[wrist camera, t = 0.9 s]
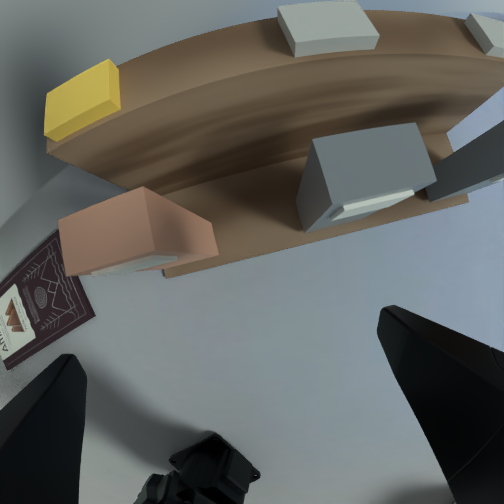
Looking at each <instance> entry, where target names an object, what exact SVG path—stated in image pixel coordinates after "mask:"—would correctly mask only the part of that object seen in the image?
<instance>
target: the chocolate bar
mask: <svg viewBox="0 0 504 504" xmlns="http://www.w3.org/2000/svg"><path fill="white" fill-rule="evenodd" d="M95 316H96V315H95V313H94V311H93V309H92V307H91V305H90V302H89V300H88V298H87V296H86V293H85V291H84V289H83V287H82V284H81V282H80V279H79V277H78V276H66V272H65V267H64V261H63V255H62V248H61V241H60V234H59V230H57V231H56V232H55V233H54V234H53V235H51V236H50V237H49V238H48V239H47V240H46V241H45V242H43V243H42V244H41V245H40V246H39V247H38V248H37V249H36V250H35V251H34V252H32V253H31V254H30V255H29V256H28V257H27V258H26V259H25V260H24V261H23V262H22V263H21V264H20V265H19V266H18V267H17V268H16V269H15V270H14V271H13V272H12V273H11V274H10V275H9V276H8V277H7V278H6V279H5V280H4V281H3V282H2V283H1V284H0V355H1V357H2V360H3V362H4V364H5V366H6V369H7V370H10V369H12V368H13V367H15V366H16V365H18V364H19V363H21V362H22V361H24V360H26V359H27V358H29V357H30V356H32V355H33V354H35V353H37V352H38V351H40V350H41V349H43V348H45V347H46V346H48V345H49V344H51V343H53V342H54V341H56V340H57V339H59V338H61V337H62V336H64V335H65V334H67V333H69V332H70V331H72V330H73V329H75V328H77V327H78V326H80V325H82V324H83V323H85V322H87V321H88V320H90V319H91V318H93V317H95Z"/></svg>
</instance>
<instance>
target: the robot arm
mask: <svg viewBox="0 0 504 504" xmlns="http://www.w3.org/2000/svg"><path fill="white" fill-rule="evenodd" d="M377 335H378V338H379V340H380V343H381V345H382V347H383V350H384V352H385V354H386V357H387V359H388V362H389V364H390V367H391V369H392V371H393V374H394V376H395V378H396V380H397V382H398V384H399V386H400V387H401V389H402V391H403V393H404V395H405V397H406V399H407V401H408V402H409V404H410V406H411V408H412V410H413V412H414V414H415V416H416V418H417V420H418V422H419V424H420V426H421V428H422V430H423V432H424V434H425V436H426V438H427V440H428V442H429V444H430V446H431V448H432V450H433V452H434V454H435V456H436V459H437V461H438V463H439V465H440V467H441V469H442V472H443V474H444V476H445V478H446V480H447V482H448V485H449V488H450V490H451V492H452V494H453V497H454V499H455V502H456V504H504V352H502V351H500V350H497V349H495V348H493V347H491V348H490V346H488V345H486V344H484V343H481V342H479V341H477V340H474V339H472V338H470V337H468V336H465V335H463V334H461V333H458V332H456V331H454V330H452V329H449V328H447V327H445V326H442V325H440V324H438V323H435V322H433V321H431V320H428V319H426V318H424V317H422V316H419V315H417V314H415V313H412V312H410V311H408V310H405V309H403V308H401V307H398V306H396V305H391V306H387V307H383V308H382V309H381V311H380V316H379V321H378V327H377ZM86 389H87V376H86V373H85V371H84V369H83V368H82V366H81V364H80V363H79V361H78V359H77V357H76V356H75V355H74V354H62V355H60V356H59V357H58V358H57V359H56V360H55V361H53V362H52V363H51V364H50V365H49V366H48V367H47V368H46V369H44V370H43V371H42V372H41V373H40V374H39V375H38V376H37V377H36V378H35V379H33V380H32V381H31V382H30V383H29V384H28V385H27V386H26V387H25V388H24V389H23V390H21V391H20V392H19V393H18V394H17V395H16V396H15V397H14V398H13V399H12V400H11V401H10V402H9V403H8V404H7V405H6V406H4V407H3V408H2V409H1V410H0V504H78V503H79V479H80V464H81V453H82V443H83V435H84V426H85V408H86ZM214 439H218V440H214ZM174 460H175V461H174ZM169 462H170V463H171V464H172V465H173V466H174V467H175V468H176V469H177V470H178V471H179V472H176V471H175V470H173V471H171V472H170V473H169V474H167V475H165V476H164V475H159V474H152V475H151V476H149V478H148V479H147V481H146V483H145V484H144V486H143V488H142V491H141V492H140V493H139V494H138V498H137V500H136V501H135V502H134V503H133V504H243V503H244V498H245V494H246V493H248V489H249V483H251V482H254V481H256V480H258V479H259V478H260V476H261V474H260V472H259V471H258V470H257V469H255V468H254V467H253V466H252V464H251V463H250V462H249V461H248V460H247V459H246V458H245V457H244V456H243V455H241V454H240V453H239V452H238V451H237V450H236V449H234V448H232V447H231V446H230V445H229V444H228V443H227V442H226V441H225V440H224V439H223V438H222V437H221V436H220V435H218V434H213V435H211V436H210V437H208V438H206V439H204V440H202V441H200V442H198V443H196V444H195V445H193V446H191V447H189V448H187V449H185V450H183V451H181V452H179V453H177V454H175V455H173V456H171V457H170V459H169ZM254 475H257V476H254Z"/></svg>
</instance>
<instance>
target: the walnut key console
mask: <svg viewBox="0 0 504 504" xmlns="http://www.w3.org/2000/svg"><path fill="white" fill-rule="evenodd" d="M277 11H278V17H276V18H270V19H263V20H258V21H254V22H248V23H244V24H239V25H235V26H230V27H226V28H222V29H219V30H215V31H211V32H208V33H204V34H201V35H197V36H194V37H191V38H188V39H185V40H182V41H179V42H176V43H173V44H170V45H167V46H165V47H162V48H159V49H157V50H154V51H151V52H149V53H146V54H144V55H141V56H139V57H136V58H134V59H132V60H130V61H127V62H125V63H123V64H121V65H118V66H115V65H114V64H113V63H112V62H111V60H110V59H107V60H105V61H103V62H101V63H99V64H98V65H96V66H94V67H92V68H90V69H88V70H86V71H84V72H83V73H81V74H79V75H78V76H76V77H74V78H72V79H70V80H69V81H67V82H65V83H64V84H62V85H60V86H59V87H57V88H56V89H54V90H52V91H51V92H49V93H48V94H47V98H46V109H45V123H44V135H45V136H47V154H49V155H52V156H54V157H56V158H58V159H60V160H63V161H65V162H67V163H69V164H71V165H74V166H76V167H78V168H80V169H83V170H85V171H87V172H89V173H91V174H94V175H96V176H98V177H100V178H102V179H105V180H107V181H109V182H111V183H113V184H116V185H118V186H120V187H122V188H124V189H127V190H129V191H131V190H134V189H137V188H140V187H142V186H143V187H145V188H147V189H149V190H151V191H153V192H155V193H157V194H158V195H160V196H162V197H164V198H166V199H168V200H170V201H172V202H173V203H175V204H177V205H179V206H181V207H183V208H185V209H186V210H188V211H190V212H192V213H194V214H196V215H198V216H200V217H201V218H203V219H205V220H207V221H209V222H211V223H212V228H213V232H214V236H215V241H216V245H217V249H218V253H219V255H217V256H213V257H209V258H206V259H202V260H198V261H194V262H190V263H186V264H182V265H178V266H174V267H170V268H166V269H164V273H165V277H166V279H167V278H171V277H175V276H179V275H183V274H187V273H191V272H196V271H200V270H204V269H208V268H212V267H216V266H220V265H224V264H228V263H232V262H236V261H240V260H244V259H248V258H252V257H256V256H260V255H264V254H268V253H272V252H276V251H280V250H284V249H288V248H292V247H296V246H300V245H304V244H308V243H312V242H315V241H319V240H323V239H327V238H331V237H335V236H339V235H343V234H347V233H351V232H355V231H359V230H363V229H367V228H371V227H374V226H378V225H382V224H386V223H390V222H394V221H398V220H402V219H406V218H409V217H413V216H417V215H421V214H425V213H429V212H433V211H437V210H440V209H444V208H448V207H452V206H456V205H460V204H463V203H467V202H469V200H468V196H467V194H463V195H459V196H454V197H450V198H446V199H442V200H438V201H434V202H429V199H428V195H427V192H426V189H425V187H424V188H422V189H420V190H418V191H416V192H414V195H412V196H410V197H408V198H406V199H404V200H402V201H400V202H398V203H396V204H394V205H392V206H390V207H387V208H383V209H381V210H379V211H377V212H375V213H373V214H371V215H369V216H367V217H365V218H363V219H361V220H357V221H353V222H349V223H345V224H340V225H336V226H332V227H328V228H324V229H320V230H316V231H312V232H308V233H304V232H303V228H302V224H301V220H300V216H299V213H298V209H297V205H296V202H295V201H296V197H297V193H298V190H299V186H300V183H301V179H302V175H303V172H304V168H305V164H306V161H307V157H308V153H309V149H310V146H311V142H312V139H315V138H320V137H325V136H330V135H336V134H341V133H347V132H353V131H358V130H365V129H371V128H377V127H384V126H392V125H399V124H407V123H416V124H417V127H418V129H419V132H420V134H421V137H422V139H423V142H424V144H425V147H426V150H427V153H428V155H429V158H430V161H431V164H432V166H433V165H435V164H437V163H438V162H440V161H441V160H443V159H444V158H446V157H448V156H449V155H451V154H452V153H454V152H453V150H452V147H451V144H450V142H449V139H448V137H447V134H446V133H447V132H448V131H449V130H450V129H452V128H453V127H454V126H455V125H457V124H458V123H459V122H460V121H462V120H463V119H464V118H465V117H467V116H468V115H469V114H470V113H472V112H473V111H474V110H475V109H477V108H478V107H479V106H480V105H482V104H483V103H484V102H485V101H487V100H488V99H489V98H490V97H491V96H493V95H494V94H495V93H496V92H498V91H499V90H500V89H501V88H502V87H504V22H501V21H498V20H495V19H491V18H488V17H484V16H480V15H476V14H472V13H470V15H469V16H468V18H467V19H466V20H463V19H458V18H453V17H447V16H440V15H433V14H425V13H415V12H403V11H384V10H362V8H361V7H360V6H359V4H358V3H357V1H355V0H351V1H325V2H311V3H301V4H292V5H284V6H278V7H277Z"/></svg>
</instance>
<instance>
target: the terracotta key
mask: <svg viewBox="0 0 504 504" xmlns="http://www.w3.org/2000/svg"><path fill="white" fill-rule="evenodd" d="M58 226H59V234H60V241H61V248H62V255H63V261H64V267H65V272H66V276H79V275H92V277H95V276H107V275H118V274H127V273H130V272H134V271H145V270H158V269H166V268H170V267H174V266H178V265H182V264H186V263H190V262H194V261H198V260H202V259H206V258H209V257H213V256H217V255H219V253H218V249H217V245H216V241H215V236H214V232H213V228H212V223H211V222H209V221H207V220H205V219H203V218H201V217H200V216H198V215H196V214H194V213H192V212H190V211H188V210H186V209H185V208H183V207H181V206H179V205H177V204H175V203H173V202H172V201H170V200H168V199H166V198H164V197H162V196H160V195H158V194H157V193H155V192H153V191H151V190H149V189H147V188H145V187H143V186H142V187H140V188H137V189H134V190H131V191H129V192H126V193H123V194H121V195H118V196H115V197H113V198H110V199H108V200H105V201H102V202H100V203H97V204H95V205H92V206H90V207H88V208H85V209H83V210H80V211H78V212H76V213H73V214H71V215H69V216H66V217H64V218H62V219H59V220H58Z"/></svg>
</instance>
